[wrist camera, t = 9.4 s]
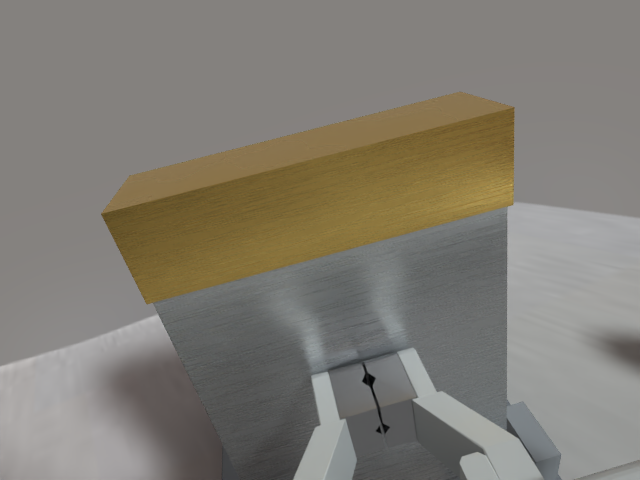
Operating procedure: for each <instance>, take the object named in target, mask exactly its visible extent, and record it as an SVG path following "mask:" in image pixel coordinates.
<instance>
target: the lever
mask: <svg viewBox="0 0 640 480" xmlns="http://www.w3.org/2000/svg"><path fill="white" fill-rule="evenodd" d="M513 187H514V107H512V106H508V105H505V104H501V103H498V102H494V101H490V100H487V99H484V98H480V97H477V96H473V95H470V94H466V93H463V92H457V93H453V94H450V95H445V96H441V97H438V98H434V99H430V100H426V101H422V102H418V103H414V104H410V105H406V106H402V107H398V108H394V109H390V110H387V111H382V112H379V113H374V114H371V115H367V116H363V117H359V118H355V119H351V120H347V121H343V122H339V123H335V124H331V125H327V126H324V127H320V128H315V129H312V130H308V131H304V132H300V133H296V134H292V135H288V136H284V137H280V138H276V139H272V140H268V141H264V142H260V143H257V144H252V145H249V146H245V147H241V148H237V149H233V150H229V151H225V152H221V153H217V154H214V155H209V156H205V157H201V158H198V159H193V160H189V161H186V162H182V163H178V164H174V165H170V166H166V167H162V168H158V169H154V170H150V171H146V172H142V173H138V174H134V175H130V176H129V177H128V179H127V180H126V181H125V183H124V184H123V185H122V187H121V188H120V189H119V191H118V192H117V193H116V195H115V196H114V197H113V199H112V200H111V201H110V203H109V204H108V205H107V207H106V208H105V209H104V211H103V212H102V213H101V215H102V217H103V219H104V221H105V222H106V224H107V226H108V229H109V231H110V233H111V235H112V236H113V238H114V240H115V242H116V244H117V246H118V248H119V250H120V252H121V254H122V256H123V258H124V260H125V262H126V264H127V266H128V268H129V270H130V272H131V274H132V276H133V278H134V280H135V282H136V284H137V286H138V288H139V290H140V292H141V294H142V296H143V298H144V300H145V302H146V304H150V303H153V305H154V306H155V308H156V311H157V313H158V315H159V317H160V319H161V321H162V323H163V325H164V327H165V329H166V331H167V333H168V335H169V337H170V339H171V341H172V343H173V345H174V347H175V349H176V351H177V353H178V355H179V357H180V359H181V361H182V363H183V365H184V367H185V369H186V371H187V373H188V375H189V377H190V379H191V381H192V383H193V385H194V387H195V389H196V391H197V394H198V396H199V398H200V400H201V402H202V404H203V406H204V408H205V410H206V412H207V414H208V416H209V418H210V420H211V422H212V424H213V426H214V428H215V430H216V432H217V434H218V436H219V438H220V440H221V442H222V444H223V446H224V448H225V450H226V452H227V454H228V456H229V458H230V460H231V462H232V464H233V466H234V468H235V470H236V472H237V474H238V476H239V478H240V480H293V479H294V476H295V474H296V471H297V469H298V467H299V464H300V462H301V460H302V457H303V455H304V452H305V450H306V448H307V445H308V443H309V440H310V438H311V436H312V433H313V431H314V428H315V427H317V426H320V423H319V418H318V413H317V408H316V402H315V397H314V392H313V387H312V382H311V376H312V375H316V374H319V373H323V372H327V371H330V370H334V369H338V368H342V367H346V366H350V365H354V364H358V363H362V365H363V368H364V362H363V361H367V360H370V359H374V358H377V357H380V356H384V355H387V354H391V353H394V352H398V351H402V350H406V349H409V348H414V349H415V350H416V352H417V354H418V356H419V358H420V360H421V362H422V364H423V366H424V368H425V370H426V372H427V374H428V376H429V378H430V380H431V382H432V383H433V385H434V387H435V389H436V391H437V392H440V391H443V392H444V393H446V394H448V395H449V396H451V397H452V398H454V399H456V400H457V401H459V402H460V403H462V404H464V405H465V406H467V407H468V408H470V409H472V410H473V411H475V412H477V413H478V414H480V415H481V416H483V417H485V418H486V419H488V420H489V421H491V422H493V423H494V424H496V425H497V426H499V427H501V428H502V429H504V430H505V431H507V206H511V205H513V192H514V189H513ZM364 371H365V368H364ZM328 373H329V372H328ZM365 374H366V372H365ZM366 379H367V380H368V378H367V375H366ZM367 383H368V382H367ZM380 428H381V425H380ZM381 431H382V429H381ZM382 434H383V432H382ZM383 440H384V445H385V449H383V450H380V451H377V452H374V453H371V454H368V455H365V456H361V457H358V458H357V462H356V466H355V470H354V474H353V477H352V480H460V478H459V477H458V476H456V475H455V474H454V473H453V472H452V471H451V470H450V469H448V468H447V467H446V466H445V465H444V464H443V463H441V462H440V461H439V460H438V459H437V458H436V457H435V456H433V455H432V454H431V453H430V452H429V451H428V450H426V449H425V448H424V447H423V446H422V445H421V444H420V443H418V440H417V441H413V442H410V443H406V444H402V445H398V446H394V447H390V448H388V446H387V443H386V440H385V437H384V435H383Z"/></svg>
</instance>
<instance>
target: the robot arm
mask: <svg viewBox="0 0 640 480" xmlns="http://www.w3.org/2000/svg"><path fill="white" fill-rule="evenodd" d="M363 362H364V368H365V371H364V368H363V365H362V363H358V364H354V365H350V366H346V367H342V368H338V369H334V370H330V371H327V372H323V373H319V374H316V375H312V376H311V382H312V387H313V392H314V397H315V402H316V408H317V413H318V418H319V423H320V426H317V427H315V428H314V431H313V433H312V436H311V438H310V440H309V443H308V445H307V448H306V450H305V452H304V455H303V457H302V460H301V462H300V464H299V467H298V469H297V471H296V474H295V476H294V479H293V480H352V477H353V474H354V470H355V466H356V462H357V458H358V457H361V456H365V455H368V454H371V453H374V452H377V451H380V450H383V449H385V445H384V440H383V435H384V437H385V440H386V443H387V446H388V448H390V447H394V446H398V445H402V444H406V443H410V442H413V441H417V440H418V443H420V444H421V445H422V446H423V447H424V448H425V449H426V450H428V451H429V452H430V453H431V454H432V455H433V456H435V457H436V458H437V459H438V460H439V461H440V462H441V463H443V464H444V465H445V466H446V467H447V468H448V469H450V470H451V471H452V472H453V473H454V474H455V475H456V476H458V477H459V478H460V480H544V478H543V476H542V475H541V473H540V472H539V470H538V468H537V467H536V465H535V464H534V462H533V461H532V459H531V457H530V456H529V454H528V453H527V451H526V449H525V448H524V446H523V445H522V443H521V441H520V440H519V439H518V438H517V437H515V436H514V435H512V434H510V433H509V432H507V431H505V430H504V429H502V428H501V427H499V426H497V425H496V424H494V423H493V422H491V421H489V420H488V419H486V418H485V417H483V416H481V415H480V414H478V413H477V412H475V411H473V410H472V409H470V408H468V407H467V406H465V405H464V404H462V403H460V402H459V401H457V400H456V399H454V398H452V397H451V396H449V395H448V394H446V393H444V392H443V391H440V392H437V391H436V389H435V387H434V385H433V383H432V382H431V380H430V378H429V376H428V374H427V372H426V370H425V368H424V366H423V364H422V362H421V360H420V358H419V356H418V354H417V352H416V350H415V349H414V348H409V349H406V350H402V351H398V352H394V353H391V354H387V355H384V356H380V357H377V358H374V359H370V360H367V361H363ZM328 372H329V373H328ZM365 372H366V374H365ZM366 375H367V378H368V380H367V379H366ZM367 382H368V383H367ZM380 425H381V428H380ZM381 429H382V431H381ZM382 432H383V434H382ZM574 480H640V460H638V461H634V462H631V463H628V464H624V465H621V466H618V467H614V468H611V469H608V470H604V471H601V472H598V473H594V474H591V475H588V476H584V477H581V478H578V479H574Z"/></svg>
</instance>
